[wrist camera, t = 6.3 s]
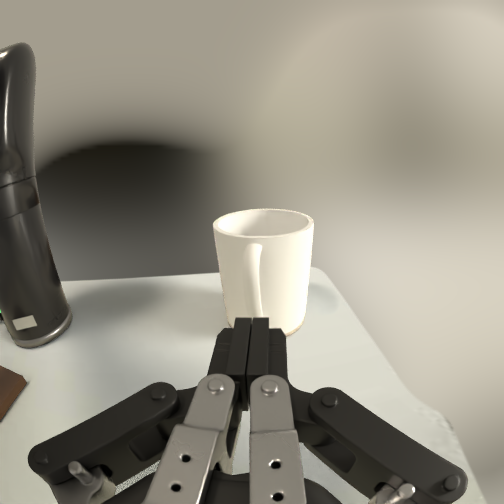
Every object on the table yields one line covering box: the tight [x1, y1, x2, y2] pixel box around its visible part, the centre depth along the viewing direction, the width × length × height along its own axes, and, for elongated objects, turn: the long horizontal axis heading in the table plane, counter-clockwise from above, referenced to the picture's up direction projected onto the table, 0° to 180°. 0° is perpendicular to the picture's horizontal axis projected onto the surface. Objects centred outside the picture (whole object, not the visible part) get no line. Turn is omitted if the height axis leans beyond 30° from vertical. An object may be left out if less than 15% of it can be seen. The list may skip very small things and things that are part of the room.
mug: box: [213, 209, 314, 336], centre depth 26 cm, size 11×9×10 cm
